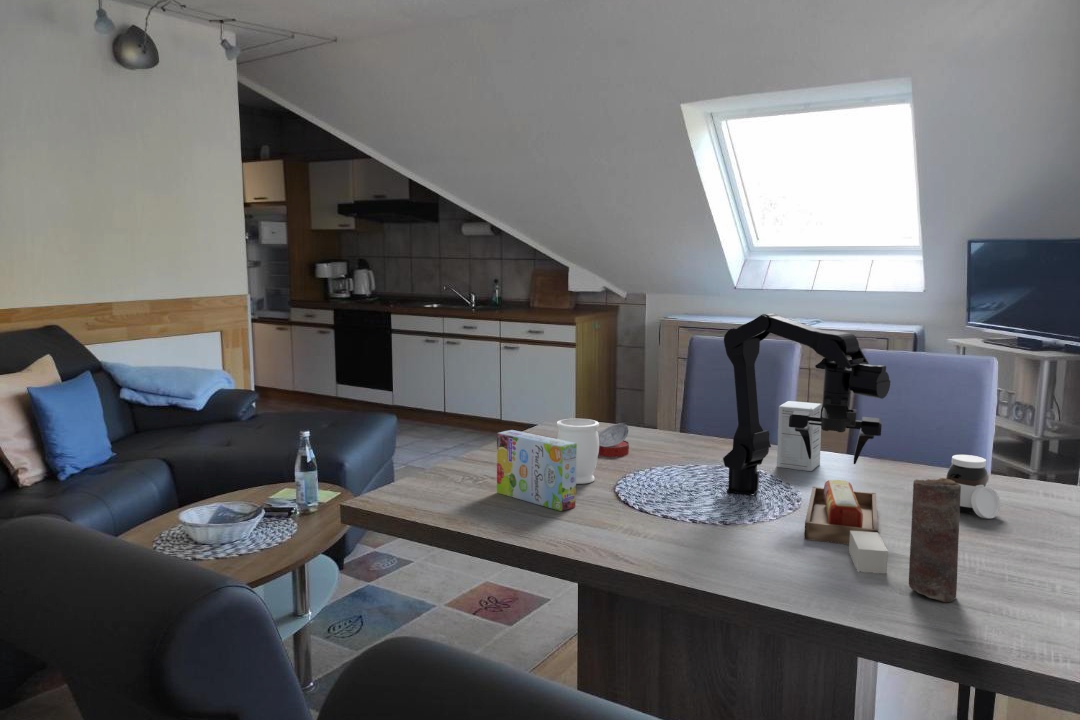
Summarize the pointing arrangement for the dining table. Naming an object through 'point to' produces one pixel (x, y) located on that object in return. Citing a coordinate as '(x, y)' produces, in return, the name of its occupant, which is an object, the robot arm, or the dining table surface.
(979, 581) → the dining table surface
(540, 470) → the snack box
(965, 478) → the spread jar
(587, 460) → the jar
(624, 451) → the canned food
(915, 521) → the weathered brick
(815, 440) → the supplement box
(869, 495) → the tray
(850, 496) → the snack package
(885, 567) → the small white box
